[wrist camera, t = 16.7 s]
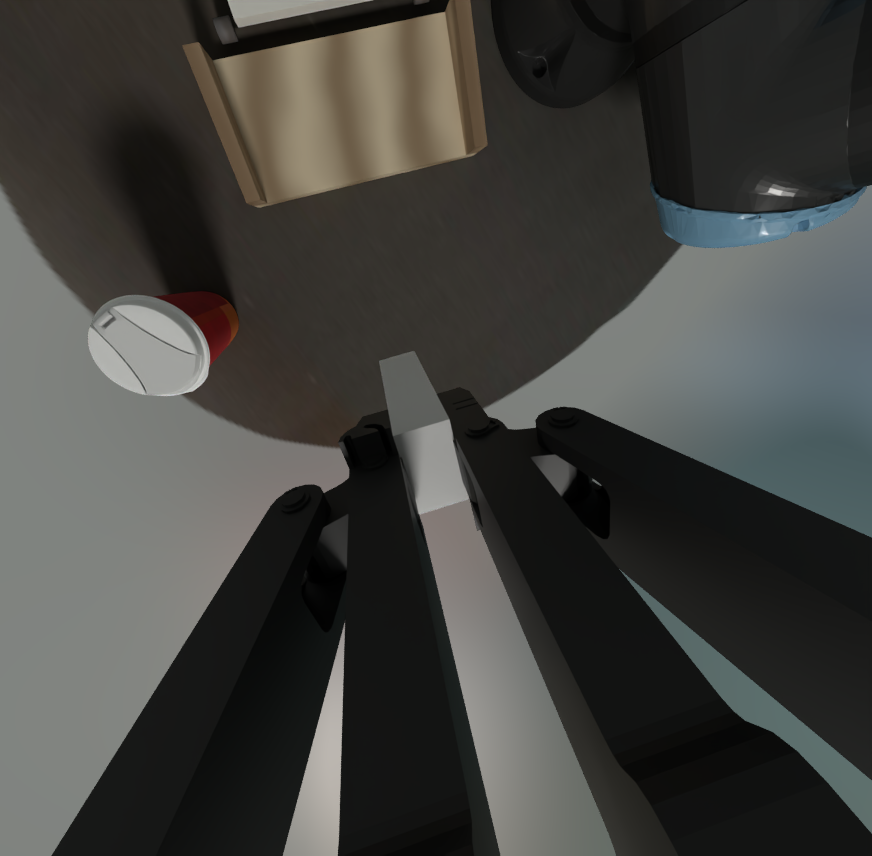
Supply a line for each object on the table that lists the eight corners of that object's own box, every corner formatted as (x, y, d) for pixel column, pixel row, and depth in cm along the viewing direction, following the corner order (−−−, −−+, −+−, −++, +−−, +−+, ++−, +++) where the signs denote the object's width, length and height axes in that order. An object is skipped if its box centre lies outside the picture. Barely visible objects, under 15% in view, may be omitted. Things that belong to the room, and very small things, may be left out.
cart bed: (449, -18, 31) (463, -56, 27) (473, 155, 37) (487, 144, 33) (190, 35, 29) (164, 2, 25) (258, 207, 35) (246, 203, 31)
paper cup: (150, 310, 37) (51, 343, 25) (206, 263, 36) (131, 272, 24) (215, 368, 41) (156, 421, 28) (266, 327, 40) (228, 363, 28)
